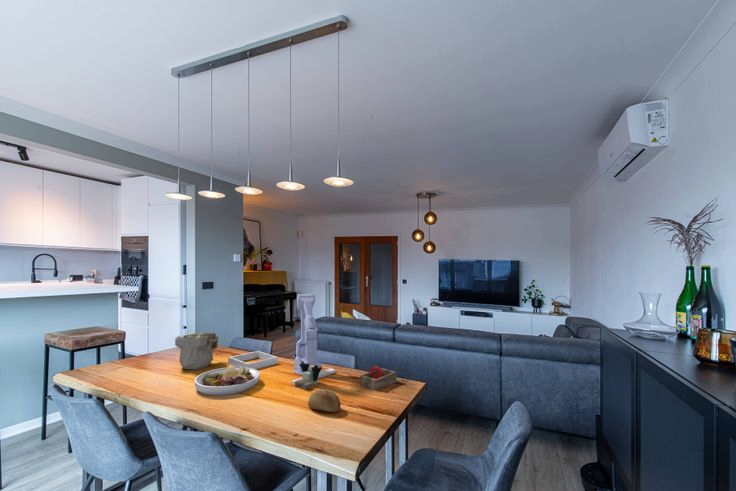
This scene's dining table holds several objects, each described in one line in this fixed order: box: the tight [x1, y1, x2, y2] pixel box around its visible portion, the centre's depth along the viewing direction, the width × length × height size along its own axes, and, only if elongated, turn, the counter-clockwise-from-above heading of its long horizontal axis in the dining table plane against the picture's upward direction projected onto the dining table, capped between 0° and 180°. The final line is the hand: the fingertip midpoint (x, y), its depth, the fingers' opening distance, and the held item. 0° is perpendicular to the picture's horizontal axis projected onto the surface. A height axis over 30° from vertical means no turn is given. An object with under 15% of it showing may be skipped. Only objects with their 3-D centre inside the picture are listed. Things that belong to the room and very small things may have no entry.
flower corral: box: [227, 350, 279, 370], centre depth 201 cm, size 21×20×4 cm
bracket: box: [369, 365, 391, 388], centre depth 170 cm, size 12×4×8 cm, turn 65°
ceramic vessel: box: [174, 331, 219, 370], centre depth 197 cm, size 23×24×25 cm
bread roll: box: [307, 388, 341, 413], centre depth 139 cm, size 10×15×8 cm, turn 68°
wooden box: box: [359, 367, 397, 392], centre depth 170 cm, size 10×17×5 cm, turn 141°
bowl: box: [194, 366, 261, 396], centre depth 165 cm, size 30×30×8 cm
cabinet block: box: [301, 369, 320, 386], centre depth 169 cm, size 4×7×6 cm, turn 141°
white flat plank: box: [290, 367, 336, 386], centre depth 178 cm, size 4×28×2 cm, turn 141°
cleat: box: [294, 379, 313, 391], centre depth 164 cm, size 8×4×2 cm, turn 51°
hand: (310, 378), depth 169 cm, fingers open, 7 cm apart
